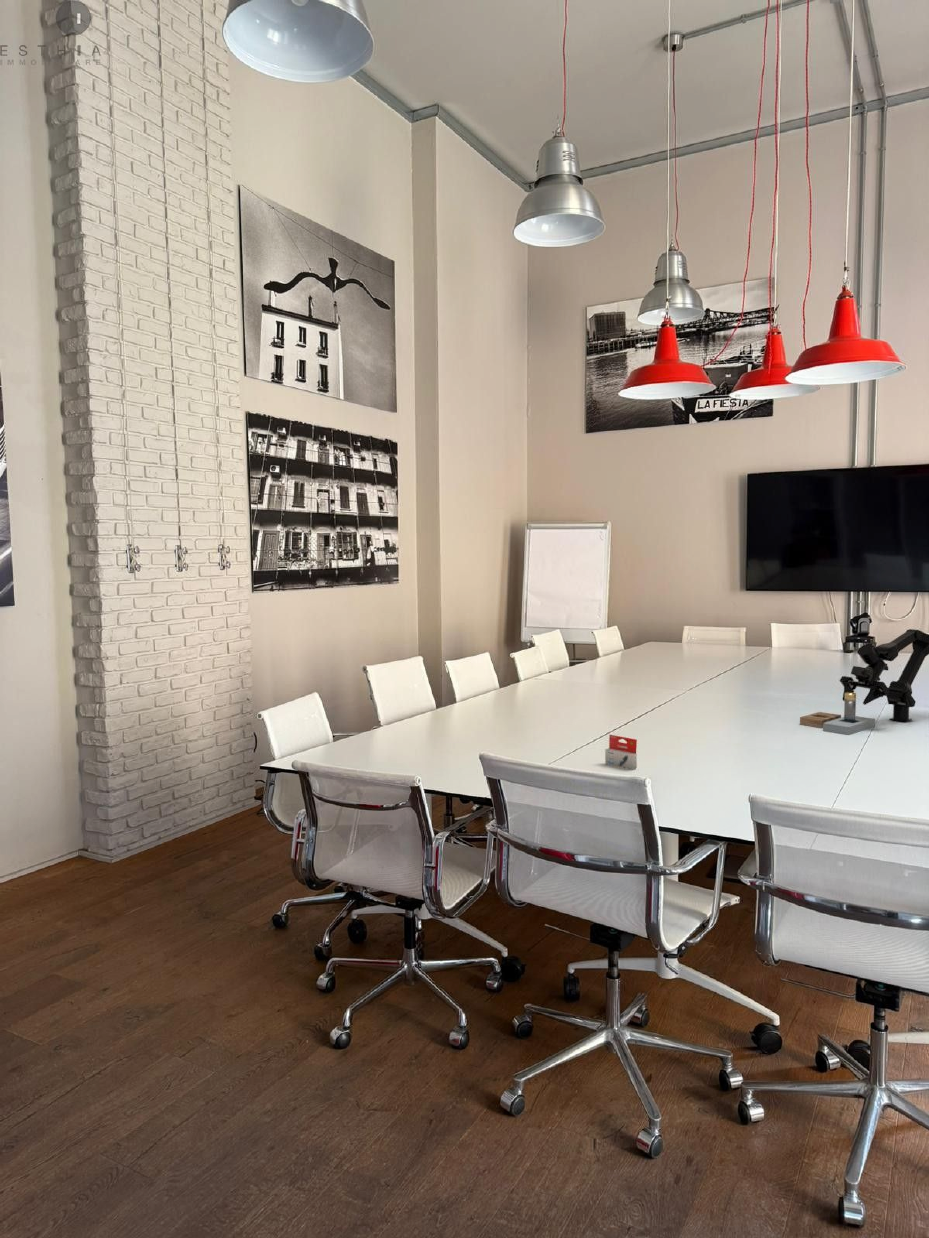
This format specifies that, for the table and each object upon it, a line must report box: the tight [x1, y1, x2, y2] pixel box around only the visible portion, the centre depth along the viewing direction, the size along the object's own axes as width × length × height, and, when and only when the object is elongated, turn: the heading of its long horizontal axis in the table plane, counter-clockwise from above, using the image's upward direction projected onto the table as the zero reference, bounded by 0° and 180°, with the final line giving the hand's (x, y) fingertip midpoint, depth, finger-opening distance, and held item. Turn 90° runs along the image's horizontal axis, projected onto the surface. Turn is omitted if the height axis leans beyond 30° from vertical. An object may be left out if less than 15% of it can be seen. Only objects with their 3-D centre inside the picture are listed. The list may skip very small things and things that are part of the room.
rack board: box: [822, 715, 876, 736], centre depth 321 cm, size 22×10×3 cm, turn 130°
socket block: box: [799, 711, 842, 729], centre depth 330 cm, size 16×9×3 cm, turn 130°
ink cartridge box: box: [604, 734, 638, 771], centre depth 269 cm, size 2×11×10 cm, turn 44°
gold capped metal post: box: [843, 692, 857, 723], centre depth 320 cm, size 4×4×14 cm
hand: (853, 702), depth 321 cm, fingers open, 9 cm apart
